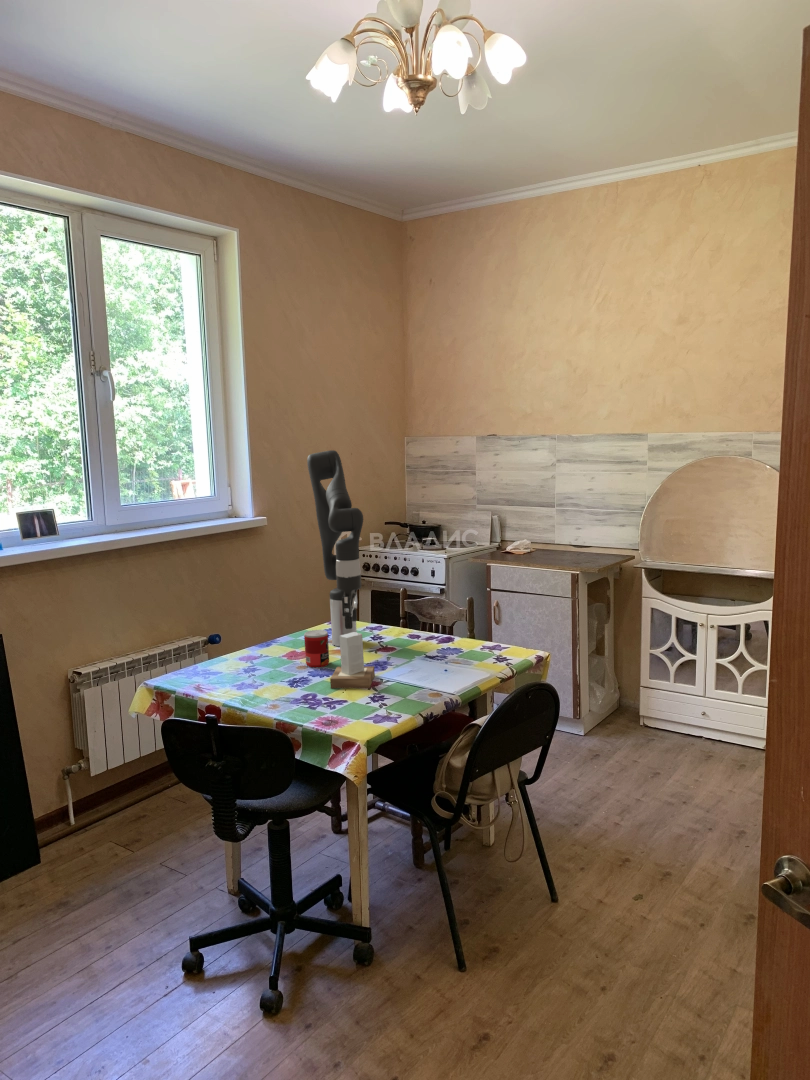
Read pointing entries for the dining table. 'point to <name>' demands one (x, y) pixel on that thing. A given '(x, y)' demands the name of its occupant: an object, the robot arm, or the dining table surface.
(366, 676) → the base slab
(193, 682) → the dining table surface
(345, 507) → the robot arm
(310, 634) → the canned food
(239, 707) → the dining table surface
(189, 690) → the dining table surface
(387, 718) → the dining table surface
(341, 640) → the skincare box
